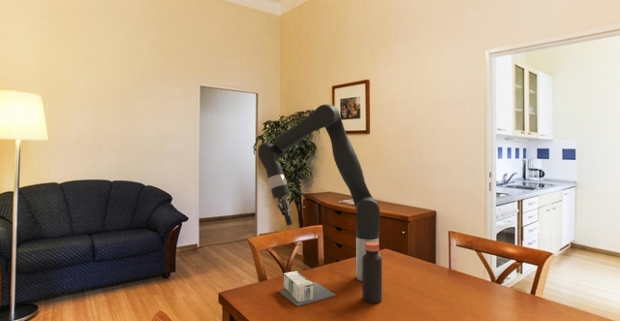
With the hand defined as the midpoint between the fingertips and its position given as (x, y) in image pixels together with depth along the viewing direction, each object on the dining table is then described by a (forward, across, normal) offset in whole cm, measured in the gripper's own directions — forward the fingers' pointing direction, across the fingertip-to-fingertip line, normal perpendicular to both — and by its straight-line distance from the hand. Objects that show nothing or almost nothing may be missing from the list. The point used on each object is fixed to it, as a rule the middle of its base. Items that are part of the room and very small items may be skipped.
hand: (289, 224), depth 143 cm
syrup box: (+20, -10, +4) cm, 23 cm away
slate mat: (+26, -14, -2) cm, 30 cm away
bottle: (+34, -16, -24) cm, 45 cm away
